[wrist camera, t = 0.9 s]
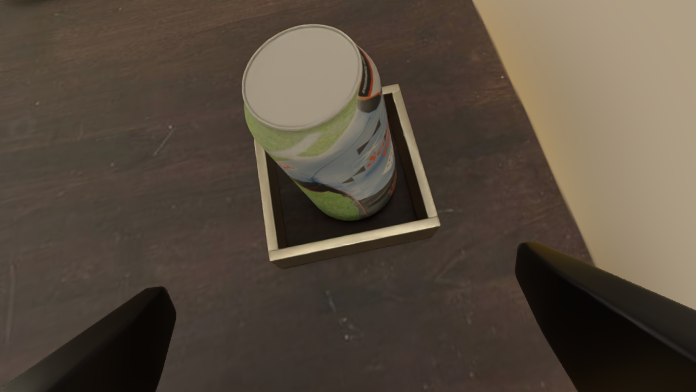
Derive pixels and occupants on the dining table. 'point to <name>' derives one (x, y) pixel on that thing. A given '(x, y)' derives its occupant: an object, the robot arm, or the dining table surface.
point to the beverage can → (323, 119)
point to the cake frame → (362, 240)
